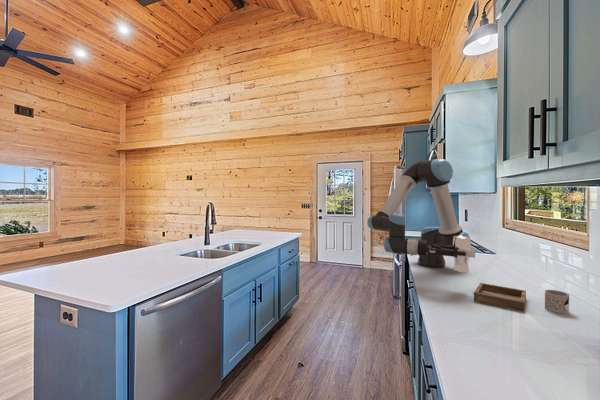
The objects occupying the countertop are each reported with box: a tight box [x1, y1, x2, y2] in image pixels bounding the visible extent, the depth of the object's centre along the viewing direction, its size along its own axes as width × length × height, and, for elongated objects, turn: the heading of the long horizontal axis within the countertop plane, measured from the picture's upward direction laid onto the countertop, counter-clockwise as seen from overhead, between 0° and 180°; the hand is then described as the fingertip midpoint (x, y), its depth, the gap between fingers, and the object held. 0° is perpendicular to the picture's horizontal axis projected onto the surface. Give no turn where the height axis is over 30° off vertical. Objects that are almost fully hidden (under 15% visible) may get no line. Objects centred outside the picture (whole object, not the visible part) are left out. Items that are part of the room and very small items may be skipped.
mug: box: [544, 289, 570, 315], centre depth 106 cm, size 10×7×7 cm, turn 143°
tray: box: [473, 282, 527, 313], centre depth 115 cm, size 16×16×4 cm
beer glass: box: [453, 236, 472, 274], centre depth 124 cm, size 7×7×15 cm
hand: (474, 252), depth 121 cm, fingers closed on beer glass, 7 cm apart
